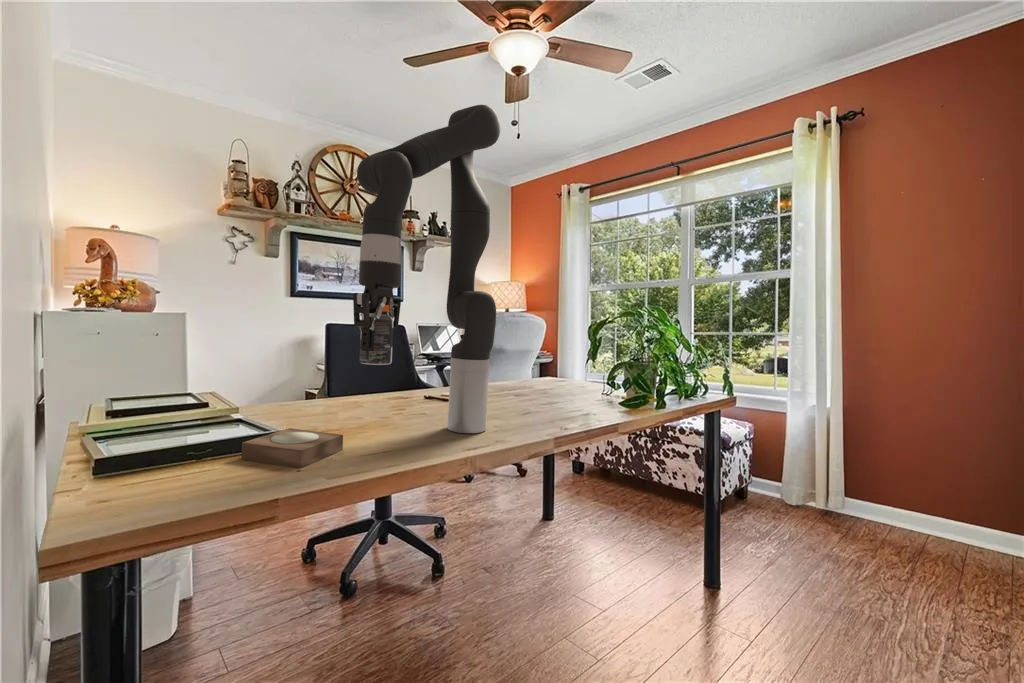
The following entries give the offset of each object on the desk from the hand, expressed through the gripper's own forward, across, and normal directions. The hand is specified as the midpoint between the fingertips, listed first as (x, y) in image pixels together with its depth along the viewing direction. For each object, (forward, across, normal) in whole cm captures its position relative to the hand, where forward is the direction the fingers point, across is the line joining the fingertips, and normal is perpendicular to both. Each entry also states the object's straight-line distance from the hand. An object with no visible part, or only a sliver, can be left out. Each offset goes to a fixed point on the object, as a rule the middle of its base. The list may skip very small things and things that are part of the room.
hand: (376, 349), depth 90 cm
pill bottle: (+3, 0, 0) cm, 3 cm away
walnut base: (+20, -6, +12) cm, 24 cm away
